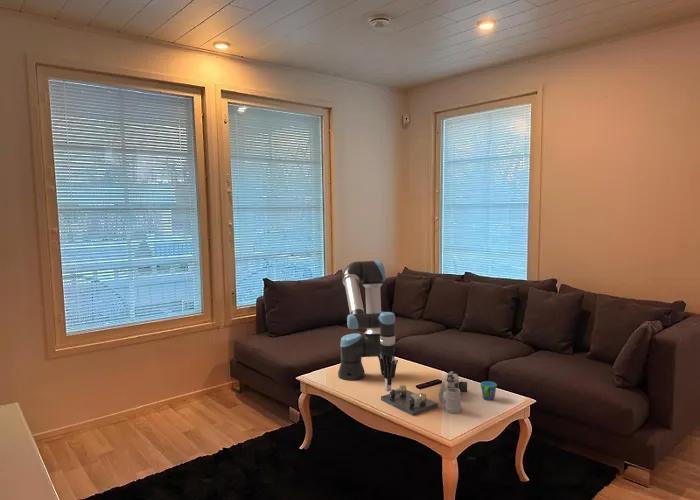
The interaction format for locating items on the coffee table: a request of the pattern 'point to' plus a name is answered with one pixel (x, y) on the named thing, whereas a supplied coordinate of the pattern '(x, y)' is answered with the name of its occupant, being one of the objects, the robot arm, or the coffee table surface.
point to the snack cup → (488, 390)
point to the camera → (456, 382)
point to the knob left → (398, 391)
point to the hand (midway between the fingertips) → (388, 390)
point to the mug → (450, 399)
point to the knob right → (417, 400)
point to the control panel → (403, 403)
